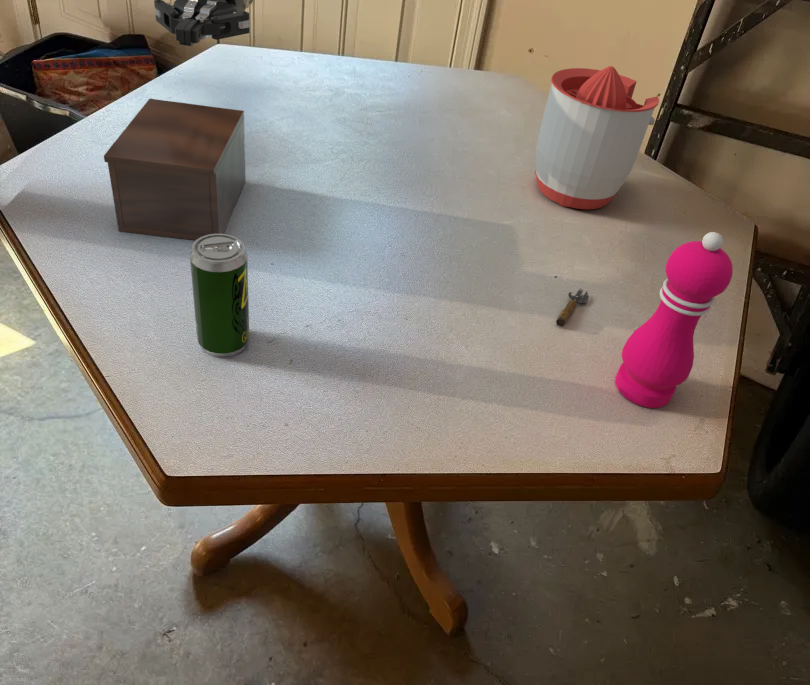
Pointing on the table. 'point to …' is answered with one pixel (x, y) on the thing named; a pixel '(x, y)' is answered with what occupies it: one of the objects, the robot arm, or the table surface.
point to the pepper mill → (673, 323)
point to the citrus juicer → (589, 136)
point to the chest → (179, 196)
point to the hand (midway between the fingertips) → (185, 37)
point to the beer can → (220, 294)
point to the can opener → (571, 306)
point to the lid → (176, 137)
